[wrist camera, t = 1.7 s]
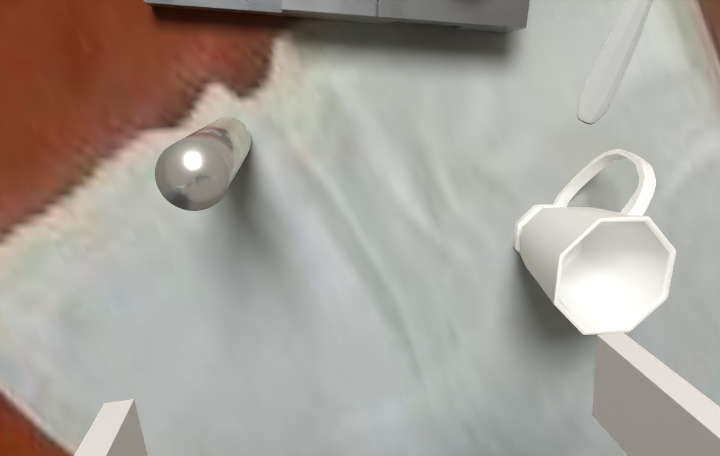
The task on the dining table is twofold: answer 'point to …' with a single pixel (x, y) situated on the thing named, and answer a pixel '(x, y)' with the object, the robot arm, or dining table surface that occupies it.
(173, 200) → the metal pin
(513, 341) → the dining table surface
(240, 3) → the grey bolted bracket
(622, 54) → the butter knife
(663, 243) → the cup
